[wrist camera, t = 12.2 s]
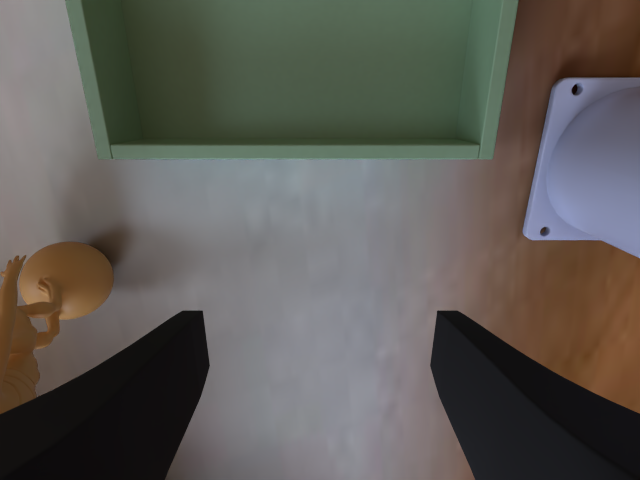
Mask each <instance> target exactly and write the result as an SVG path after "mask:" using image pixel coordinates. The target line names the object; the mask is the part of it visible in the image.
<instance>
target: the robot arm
mask: <svg viewBox="0 0 640 480" xmlns="http://www.w3.org/2000/svg"><path fill="white" fill-rule="evenodd" d="M575 84H576V85H577V92H576V93H575V94H574V95H573V93H572V87H573V86H574V85H575ZM543 227H546V230H545V232H543V233H541V234H540V231H541V229H542V228H543ZM523 234H524V236H526V237H527V238H529V239H531V240H602V241H604V242H606V243H609V244H611V245H613V246H615V247H617V248H619V249H621V250H623V251H626V252H628V253H630V254H632V255H634V256H636V257H638V258H640V78H563V79H559V80H558V81H556V82H555V84H554V85H553V87H552V90H551V94H550V99H549V104H548V109H547V114H546V119H545V124H544V129H543V133H542V138H541V143H540V148H539V153H538V158H537V163H536V168H535V173H534V178H533V182H532V187H531V192H530V197H529V202H528V207H527V212H526V217H525V222H524V226H523ZM209 366H210V364H209V357H208V349H207V341H206V333H205V326H204V318H203V311H181V312H180V313H178V314H176V315H175V316H173V317H172V318H170V319H169V320H167V321H166V322H164V323H163V324H161V325H160V326H158V327H157V328H155V329H154V330H152V331H151V332H149V333H148V334H146V335H145V336H143V337H142V338H140V339H139V340H138V341H136V342H135V343H133V344H132V345H130V346H129V347H127V348H125V349H124V350H122V351H120V352H119V353H117V354H116V355H114V356H112V357H111V358H109V359H108V360H106V361H104V362H103V363H101V364H100V365H98V366H96V367H95V368H93V369H91V370H89V371H88V372H86V373H84V374H82V375H80V376H79V377H77V378H75V379H73V380H71V381H69V382H67V383H65V384H63V385H61V386H60V387H58V388H56V389H54V390H52V391H50V392H48V393H46V394H43V395H41V396H39V397H37V398H35V399H32V400H30V401H28V402H26V403H24V404H21V405H19V406H17V407H15V408H13V409H10V410H8V411H6V412H4V413H2V414H0V480H165V478H166V475H167V473H168V470H169V468H170V465H171V463H172V461H173V459H174V456H175V454H176V452H177V450H178V447H179V445H180V443H181V441H182V438H183V436H184V434H185V432H186V429H187V427H188V425H189V422H190V420H191V418H192V416H193V413H194V411H195V409H196V406H197V404H198V402H199V399H200V397H201V394H202V391H203V387H204V384H205V381H206V377H207V373H208V370H209ZM430 366H431V370H432V373H433V377H434V381H435V384H436V387H437V391H438V394H439V397H440V399H441V402H442V404H443V406H444V409H445V411H446V413H447V416H448V418H449V420H450V422H451V425H452V427H453V429H454V432H455V434H456V436H457V438H458V441H459V443H460V445H461V447H462V450H463V452H464V454H465V456H466V459H467V461H468V463H469V465H470V468H471V470H472V473H473V475H474V478H475V480H640V414H639V413H637V412H634V411H632V410H630V409H628V408H625V407H623V406H621V405H619V404H616V403H614V402H612V401H610V400H607V399H605V398H603V397H601V396H599V395H597V394H595V393H593V392H591V391H589V390H587V389H585V388H583V387H581V386H579V385H577V384H575V383H573V382H571V381H569V380H567V379H565V378H564V377H562V376H560V375H558V374H556V373H554V372H553V371H551V370H549V369H547V368H546V367H544V366H542V365H541V364H539V363H537V362H536V361H534V360H532V359H531V358H529V357H527V356H526V355H524V354H523V353H521V352H520V351H518V350H516V349H515V348H513V347H512V346H510V345H509V344H507V343H506V342H504V341H503V340H501V339H500V338H498V337H497V336H495V335H494V334H492V333H491V332H489V331H488V330H486V329H485V328H483V327H482V326H481V325H479V324H478V323H476V322H475V321H473V320H472V319H470V318H469V317H467V316H466V315H464V314H462V313H461V312H459V311H437V318H436V326H435V333H434V341H433V349H432V357H431V364H430Z"/></svg>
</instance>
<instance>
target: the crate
mask: <svg viewBox="0 0 640 480" xmlns="http://www.w3.org/2000/svg"><path fill="white" fill-rule="evenodd" d="M518 1H519V0H65V2H66V7H67V12H68V16H69V21H70V26H71V31H72V36H73V40H74V45H75V50H76V55H77V60H78V64H79V69H80V74H81V79H82V84H83V88H84V93H85V98H86V103H87V108H88V112H89V117H90V122H91V127H92V131H93V136H94V141H95V146H96V151H97V155H98V159H493V155H494V149H495V143H496V137H497V131H498V124H499V118H500V112H501V106H502V100H503V94H504V88H505V81H506V75H507V69H508V63H509V57H510V51H511V45H512V38H513V32H514V26H515V20H516V14H517V8H518Z"/></svg>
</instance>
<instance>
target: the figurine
mask: <svg viewBox="0 0 640 480" xmlns="http://www.w3.org/2000/svg"><path fill="white" fill-rule="evenodd" d="M25 258H26V255H25V256H23V257H22V259H21V260H19V256H16V257H15V258H14V261H13V263H12V261H11V260H9V261H8V264H7V267H6V270H5V271H4V272H1V276H3V277H4V281H3V284H2V287H1V289H0V414H2V413H4V412H6V411H8V410H10V409H13V408H15V407H17V406H19V405H21V404H24V403H26V402H28V401H30V400H32V399H35V398H36V391H35V386H36V384H37V382H38V381H39V378H40V374H39V371H38V369H37V366H38V364H37V360H36V359H35V357H34V356H33V350H34V349H41V348H44V347H46V346H48V345H49V344H50V343H51V342H52V340H53V338H54V337H55V336H57V335H58V334H59V331H60V324H59V319H62V320H65V319H74V318H79V317H82V316H85V315H87V314H89V313H91V312H93V311H94V310H96V309H97V308H98V307H100V306H101V305H102V304H103V303H104V302H105V300H106V299H107V298H108V296H109V294H110V292H111V290H112V287H113V281H114V275H113V270H112V267H111V264H110V262H109V261H108V259H107V258H106V257H105V256H104V255H103V254H102V253H101V252H100V251H99V250H97V249H95V248H94V247H92V246H89V245H87V244H83V243H79V242H60V243H55V244H52V245H49V246H47V247H44V248H42V249H41V250H39V251H38V252H36V253H35V254H34V255H33V256H31V257H30V259H29V260H28V261H27V262H26V264H25V265H24V267H23V269H22V271H21V274H20V280H19V286H20V292H21V295H22V297H23V299H24V300H25V302H26V303H27V305H24V306H17V280H18V276H19V273H20V270H21V268H22V266H23V262H24V260H25ZM28 316H29V317H32V318H45V320H46V323H47V326H48V331H47V332H40V333H37V330H36V328H35V327H33V326H32V324H31V321H30V319H29V317H28Z"/></svg>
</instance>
